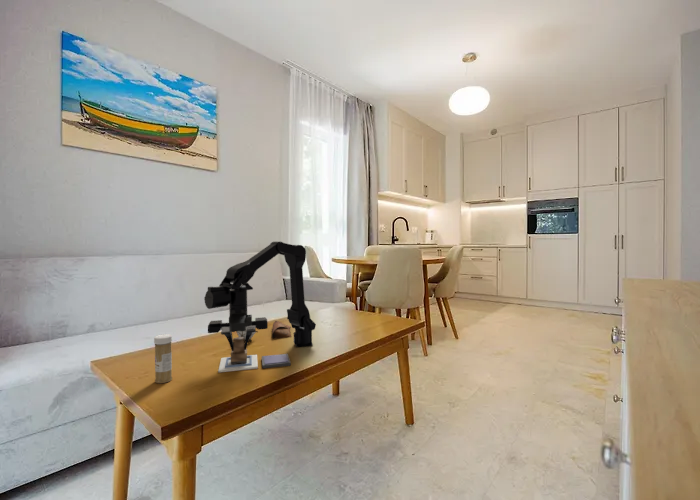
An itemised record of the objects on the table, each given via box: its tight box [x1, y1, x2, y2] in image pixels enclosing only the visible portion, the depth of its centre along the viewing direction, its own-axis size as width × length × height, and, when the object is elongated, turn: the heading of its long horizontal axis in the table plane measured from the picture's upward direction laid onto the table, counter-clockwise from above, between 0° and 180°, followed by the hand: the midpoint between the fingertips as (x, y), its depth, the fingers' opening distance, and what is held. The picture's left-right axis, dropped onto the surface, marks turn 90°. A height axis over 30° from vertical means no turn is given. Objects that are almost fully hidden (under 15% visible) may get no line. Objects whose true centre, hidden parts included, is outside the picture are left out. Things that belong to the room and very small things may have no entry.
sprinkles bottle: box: [153, 333, 173, 384], centre depth 101 cm, size 5×5×13 cm
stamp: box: [230, 337, 248, 364], centre depth 115 cm, size 5×5×8 cm
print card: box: [217, 354, 259, 373], centre depth 115 cm, size 12×12×1 cm
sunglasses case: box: [271, 320, 292, 339], centre depth 153 cm, size 18×7×7 cm
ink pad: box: [261, 353, 292, 369], centre depth 116 cm, size 9×9×1 cm
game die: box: [235, 327, 259, 342], centre depth 141 cm, size 9×8×10 cm
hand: (239, 350), depth 115 cm, fingers closed on stamp, 4 cm apart
